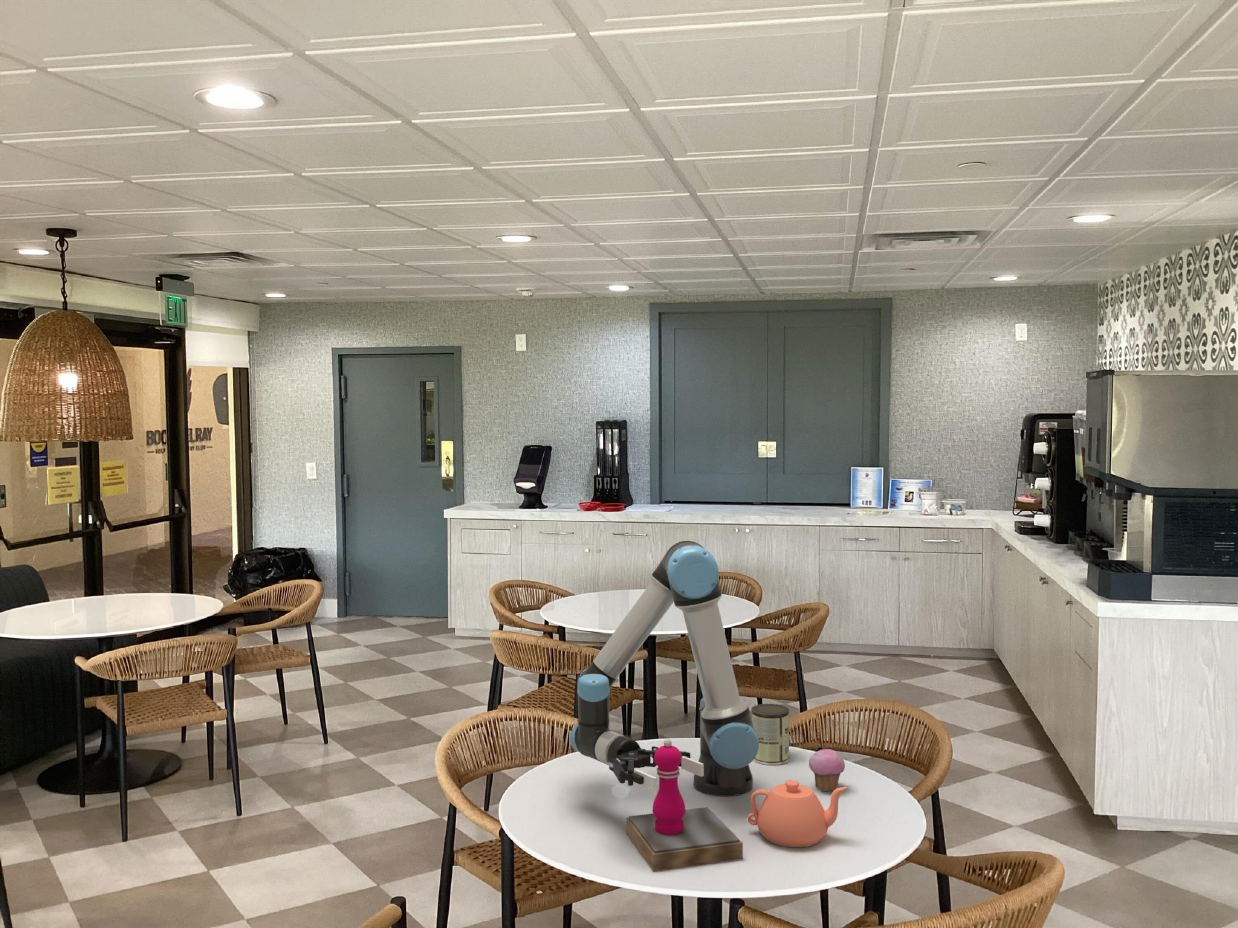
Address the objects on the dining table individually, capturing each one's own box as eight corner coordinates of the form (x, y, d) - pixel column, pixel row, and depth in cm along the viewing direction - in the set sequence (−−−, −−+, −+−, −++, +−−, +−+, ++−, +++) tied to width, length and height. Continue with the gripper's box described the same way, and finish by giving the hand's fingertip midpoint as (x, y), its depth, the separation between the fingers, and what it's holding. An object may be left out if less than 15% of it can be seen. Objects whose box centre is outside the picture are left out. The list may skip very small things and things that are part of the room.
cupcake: (839, 782, 254) (839, 744, 254) (848, 795, 246) (848, 755, 245) (805, 783, 254) (805, 745, 254) (812, 796, 245) (812, 756, 245)
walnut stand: (708, 822, 229) (708, 805, 229) (742, 858, 210) (742, 840, 210) (626, 832, 224) (626, 815, 224) (653, 871, 205) (653, 852, 204)
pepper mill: (689, 824, 218) (688, 735, 217) (680, 837, 211) (679, 745, 210) (658, 820, 221) (656, 732, 220) (648, 833, 214) (646, 742, 213)
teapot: (847, 827, 226) (847, 773, 226) (847, 856, 211) (847, 798, 211) (750, 819, 231) (750, 766, 231) (744, 847, 216) (743, 791, 216)
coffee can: (750, 752, 278) (750, 702, 278) (787, 753, 277) (787, 703, 277) (752, 764, 268) (752, 713, 268) (790, 765, 267) (790, 714, 266)
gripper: (659, 756, 237) (721, 781, 221) (575, 779, 222) (634, 808, 205) (659, 725, 237) (721, 747, 220) (574, 746, 222) (634, 772, 205)
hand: (679, 777), depth 213 cm, fingers open, 13 cm apart
